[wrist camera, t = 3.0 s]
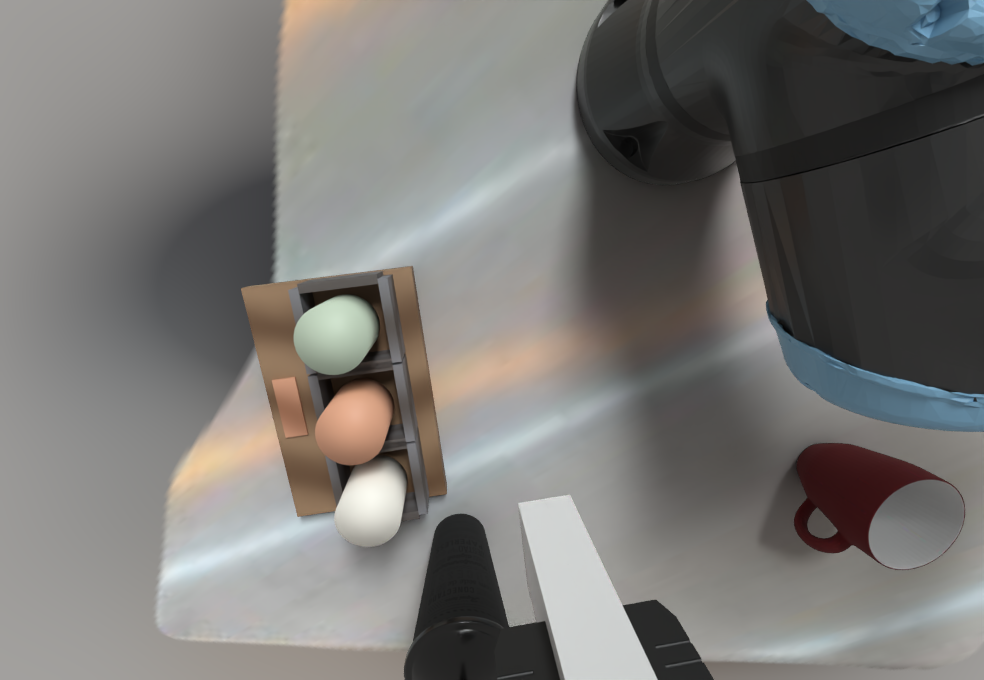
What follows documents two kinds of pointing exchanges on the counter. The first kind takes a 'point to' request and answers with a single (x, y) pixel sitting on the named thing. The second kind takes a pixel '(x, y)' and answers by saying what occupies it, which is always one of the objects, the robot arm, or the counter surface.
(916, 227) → the robot arm
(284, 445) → the wooden compartment tray
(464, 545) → the drinking cup
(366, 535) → the button ivory
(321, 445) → the button terracotta
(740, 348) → the counter surface
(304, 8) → the counter surface
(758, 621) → the counter surface
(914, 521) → the mug
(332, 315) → the pale green rounded cylinder
